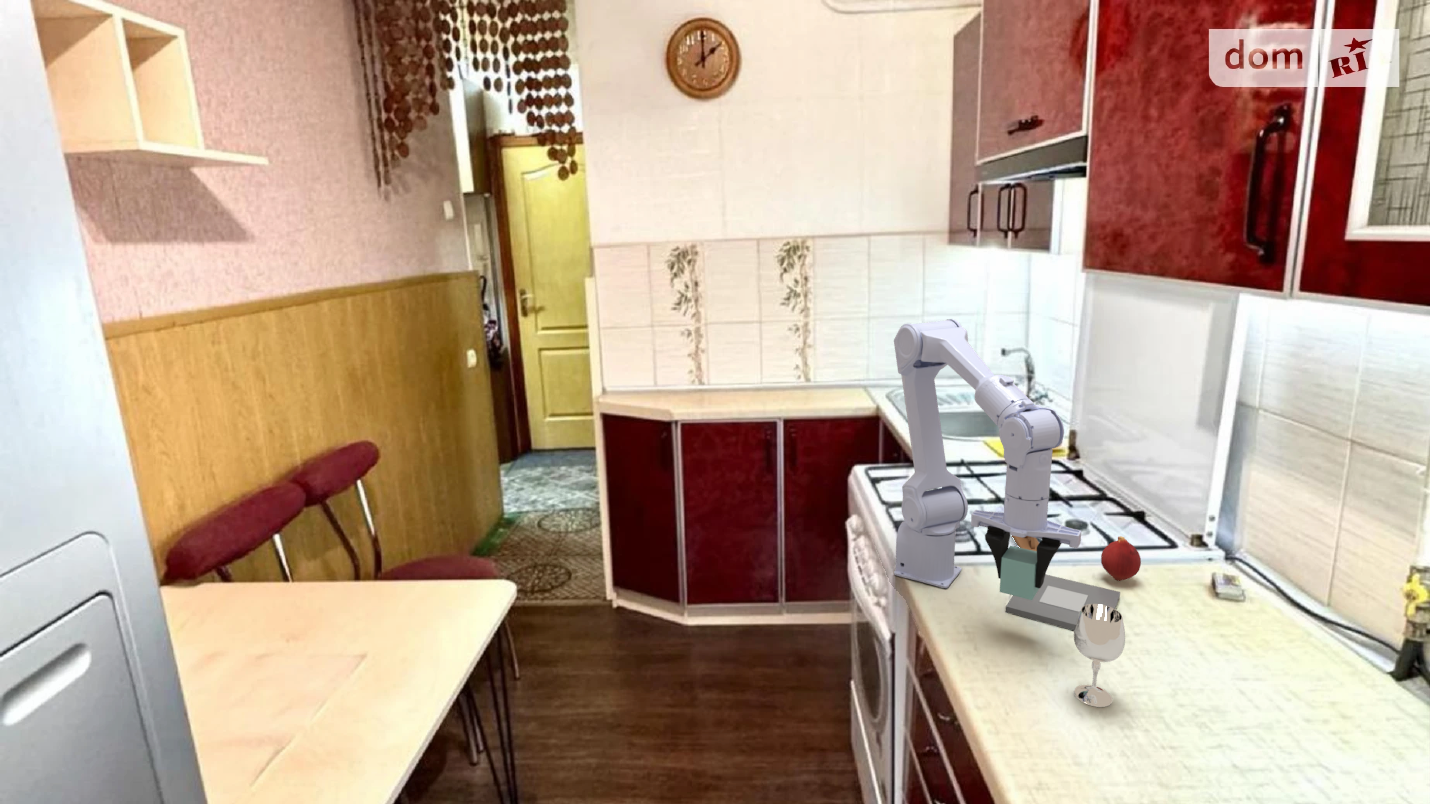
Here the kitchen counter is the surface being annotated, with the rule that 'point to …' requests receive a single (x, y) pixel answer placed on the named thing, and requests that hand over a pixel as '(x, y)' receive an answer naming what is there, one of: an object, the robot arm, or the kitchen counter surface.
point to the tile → (1061, 601)
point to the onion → (1121, 559)
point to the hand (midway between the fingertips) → (1020, 580)
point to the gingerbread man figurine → (1027, 542)
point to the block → (1019, 572)
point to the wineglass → (1098, 646)
